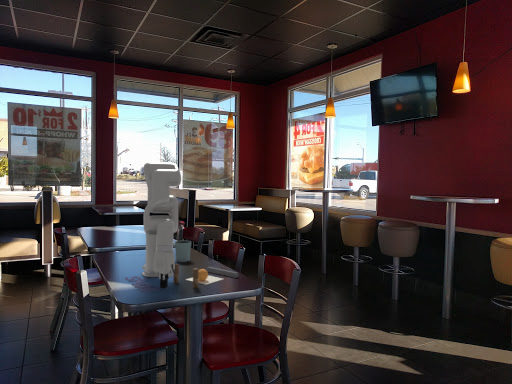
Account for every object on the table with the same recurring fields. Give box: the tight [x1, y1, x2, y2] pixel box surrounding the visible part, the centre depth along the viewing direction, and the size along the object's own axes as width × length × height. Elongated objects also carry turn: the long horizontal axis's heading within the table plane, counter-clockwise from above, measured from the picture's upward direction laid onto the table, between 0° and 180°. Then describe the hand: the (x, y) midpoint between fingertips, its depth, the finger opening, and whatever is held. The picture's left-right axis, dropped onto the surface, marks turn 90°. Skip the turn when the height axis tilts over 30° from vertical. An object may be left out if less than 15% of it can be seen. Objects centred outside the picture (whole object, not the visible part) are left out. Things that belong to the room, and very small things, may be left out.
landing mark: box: [185, 274, 224, 285], centre depth 200 cm, size 14×14×1 cm
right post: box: [192, 268, 200, 289], centre depth 184 cm, size 3×3×9 cm
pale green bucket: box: [174, 240, 192, 263], centre depth 243 cm, size 10×10×12 cm
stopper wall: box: [206, 266, 239, 279], centre depth 211 cm, size 20×2×2 cm, turn 56°
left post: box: [173, 263, 180, 285], centre depth 191 cm, size 3×3×9 cm
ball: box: [198, 268, 209, 281], centre depth 197 cm, size 6×6×6 cm
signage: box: [124, 275, 163, 293], centre depth 189 cm, size 28×1×10 cm
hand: (163, 287), depth 177 cm, fingers closed
